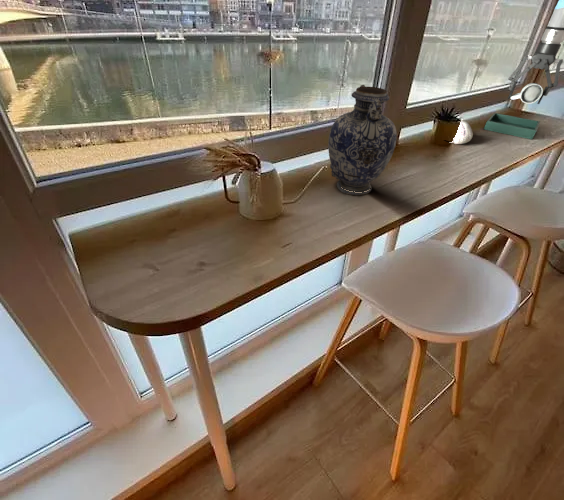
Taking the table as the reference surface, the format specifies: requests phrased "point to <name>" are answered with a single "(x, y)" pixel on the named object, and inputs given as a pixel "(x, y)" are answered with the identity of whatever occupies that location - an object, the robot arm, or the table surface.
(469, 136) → the sea urchin shell
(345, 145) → the decorative vase
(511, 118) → the tray
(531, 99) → the ceramic mug
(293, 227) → the table surface
